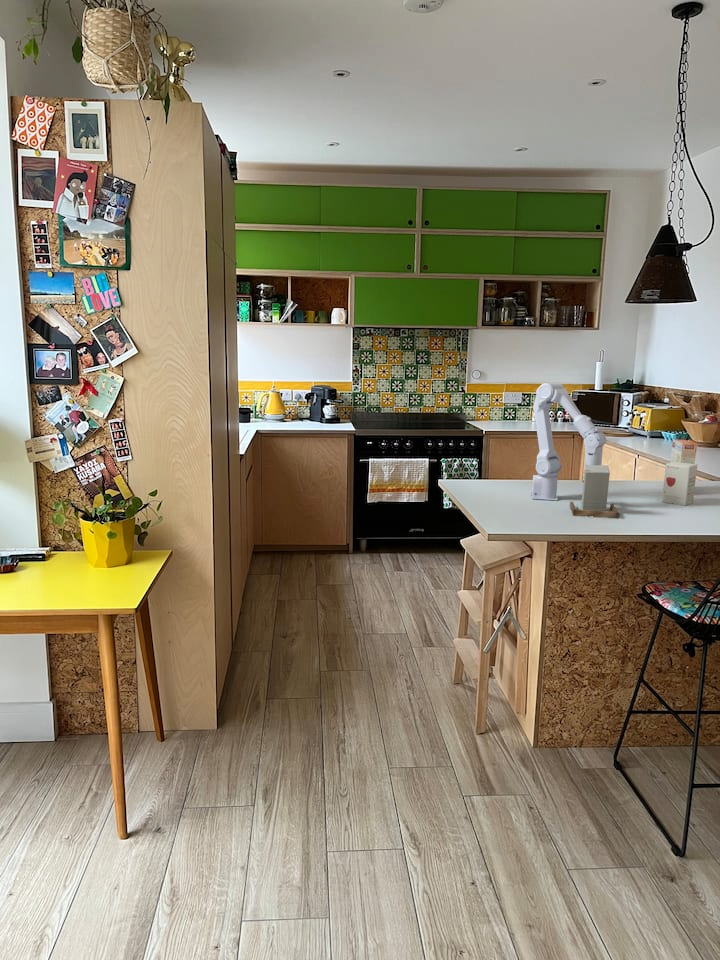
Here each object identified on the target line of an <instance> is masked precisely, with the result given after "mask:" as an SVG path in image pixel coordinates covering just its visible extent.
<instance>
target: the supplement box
mask: <svg viewBox="0 0 720 960" xmlns="http://www.w3.org/2000/svg"><path fill="white" fill-rule="evenodd" d="M697 471H698V464H696V463H695V464H689V463H681V462H671V461H670V462H667V463H666V464H665V471H664V481H663V487H662V489H663V490H662V497H661V503H667V504H672V503H673V505H678V504H680V506H684V505H686V506H688V505H690V504H692V502H693V503H694V496H695V489H696V487H695V486H696V479H697Z"/></svg>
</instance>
